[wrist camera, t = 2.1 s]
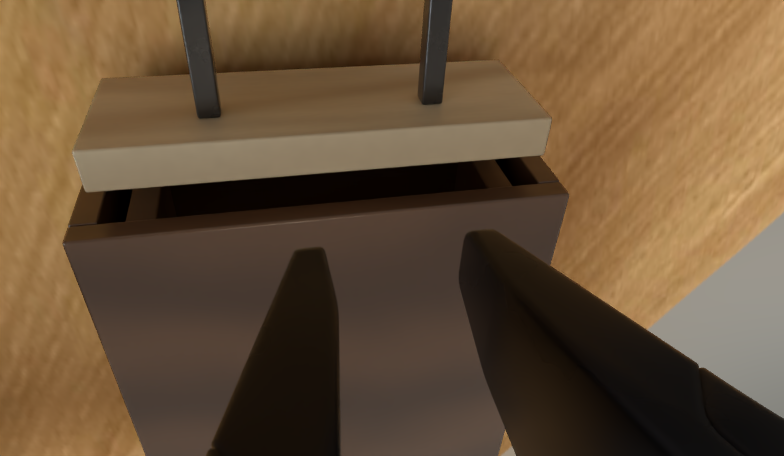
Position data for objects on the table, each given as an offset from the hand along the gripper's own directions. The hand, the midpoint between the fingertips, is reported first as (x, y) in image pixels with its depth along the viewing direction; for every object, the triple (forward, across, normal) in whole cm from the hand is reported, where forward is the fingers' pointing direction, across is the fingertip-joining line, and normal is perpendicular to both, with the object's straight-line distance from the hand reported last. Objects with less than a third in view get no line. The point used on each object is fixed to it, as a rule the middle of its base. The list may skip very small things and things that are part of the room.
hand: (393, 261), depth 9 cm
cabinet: (+12, 0, +11) cm, 17 cm away
